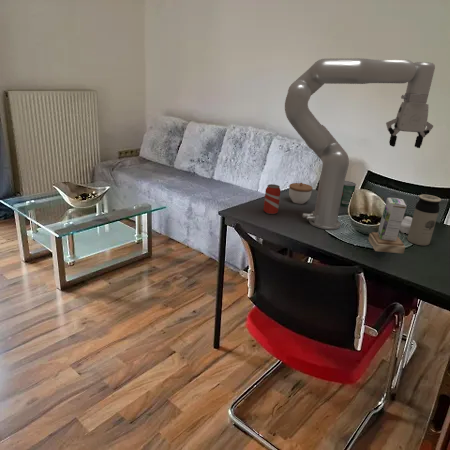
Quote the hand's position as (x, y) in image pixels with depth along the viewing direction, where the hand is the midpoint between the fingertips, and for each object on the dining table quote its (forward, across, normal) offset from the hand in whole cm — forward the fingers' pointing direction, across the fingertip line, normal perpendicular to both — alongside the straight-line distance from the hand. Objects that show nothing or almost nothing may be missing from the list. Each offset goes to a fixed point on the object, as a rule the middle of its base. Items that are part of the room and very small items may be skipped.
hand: (404, 146), depth 149 cm
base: (+35, -6, -16) cm, 39 cm away
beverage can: (+34, -45, +15) cm, 59 cm away
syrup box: (+31, -6, -15) cm, 35 cm away
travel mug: (+34, +9, -10) cm, 37 cm away
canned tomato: (+34, -8, +30) cm, 46 cm away
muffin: (+34, +8, -1) cm, 35 cm away
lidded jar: (+34, -29, +32) cm, 55 cm away
